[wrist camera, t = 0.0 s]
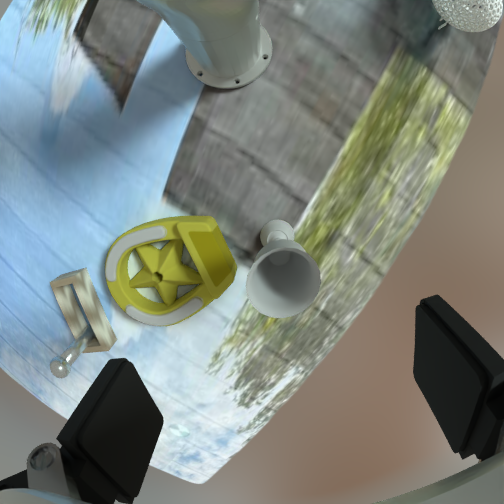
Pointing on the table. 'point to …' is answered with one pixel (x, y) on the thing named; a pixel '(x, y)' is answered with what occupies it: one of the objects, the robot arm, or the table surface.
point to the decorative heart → (469, 13)
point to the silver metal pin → (71, 353)
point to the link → (90, 305)
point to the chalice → (282, 274)
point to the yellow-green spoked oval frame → (170, 268)
